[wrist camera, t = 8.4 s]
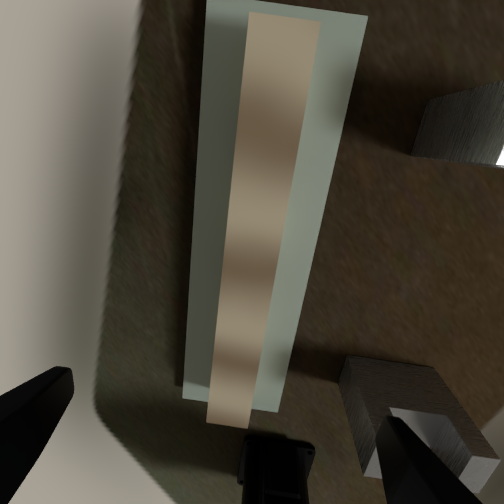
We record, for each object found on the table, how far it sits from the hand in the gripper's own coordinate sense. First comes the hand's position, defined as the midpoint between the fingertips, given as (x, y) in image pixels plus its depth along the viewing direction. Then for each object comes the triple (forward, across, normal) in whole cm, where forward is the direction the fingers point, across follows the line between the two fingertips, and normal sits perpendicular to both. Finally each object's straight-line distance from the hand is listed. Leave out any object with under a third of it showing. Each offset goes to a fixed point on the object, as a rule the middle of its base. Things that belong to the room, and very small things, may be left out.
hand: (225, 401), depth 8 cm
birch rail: (+12, 0, 0) cm, 12 cm away
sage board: (+12, 0, 0) cm, 13 cm away
